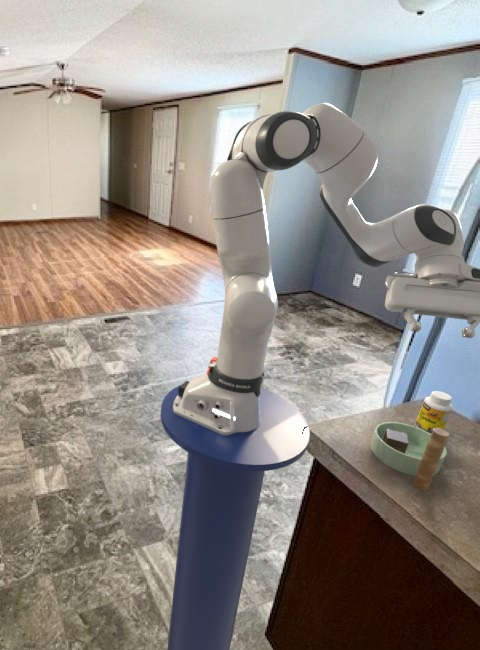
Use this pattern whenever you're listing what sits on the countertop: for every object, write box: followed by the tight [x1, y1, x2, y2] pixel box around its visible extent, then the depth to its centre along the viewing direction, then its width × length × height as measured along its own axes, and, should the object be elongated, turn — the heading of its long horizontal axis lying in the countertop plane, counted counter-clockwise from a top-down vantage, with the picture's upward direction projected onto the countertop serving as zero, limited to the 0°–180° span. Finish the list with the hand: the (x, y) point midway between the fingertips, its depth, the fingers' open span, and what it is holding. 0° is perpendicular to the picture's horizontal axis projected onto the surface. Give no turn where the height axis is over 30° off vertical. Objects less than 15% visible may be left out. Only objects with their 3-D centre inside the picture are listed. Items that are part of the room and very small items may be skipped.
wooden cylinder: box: [412, 428, 450, 492], centre depth 86 cm, size 3×3×14 cm
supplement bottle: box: [414, 390, 454, 434], centre depth 104 cm, size 6×6×10 cm
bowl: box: [370, 421, 448, 477], centre depth 96 cm, size 13×13×4 cm
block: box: [383, 429, 408, 454], centre depth 97 cm, size 4×4×4 cm
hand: (441, 333), depth 90 cm, fingers open, 8 cm apart
